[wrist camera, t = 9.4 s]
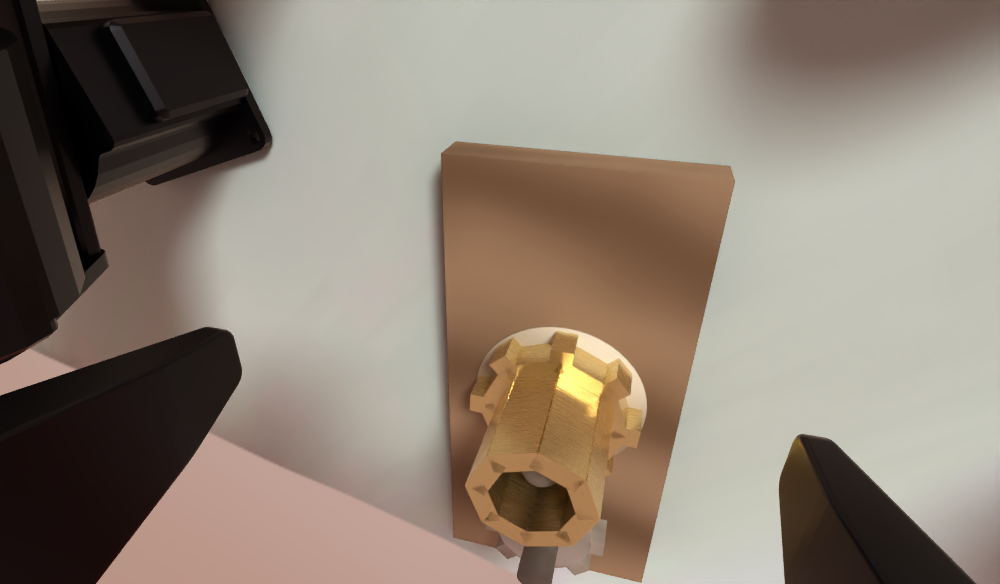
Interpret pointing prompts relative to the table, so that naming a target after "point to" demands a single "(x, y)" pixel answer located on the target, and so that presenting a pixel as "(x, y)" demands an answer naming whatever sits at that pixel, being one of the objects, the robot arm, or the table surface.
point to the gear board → (579, 311)
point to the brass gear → (549, 439)
